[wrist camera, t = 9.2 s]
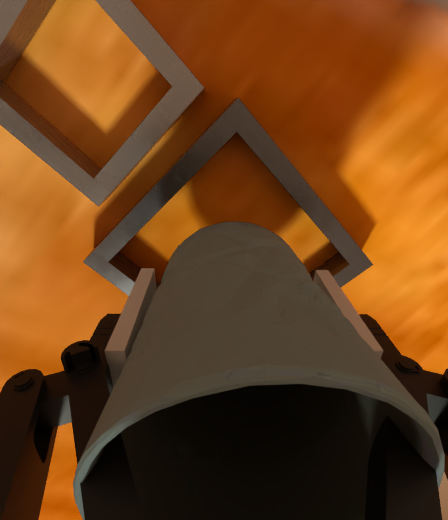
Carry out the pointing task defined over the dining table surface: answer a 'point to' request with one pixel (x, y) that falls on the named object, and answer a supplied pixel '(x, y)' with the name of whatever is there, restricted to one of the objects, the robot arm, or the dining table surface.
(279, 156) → the square hollow frame
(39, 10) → the grey diamond-shaped open frame
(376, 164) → the dining table surface
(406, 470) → the robot arm
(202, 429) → the grey cup
